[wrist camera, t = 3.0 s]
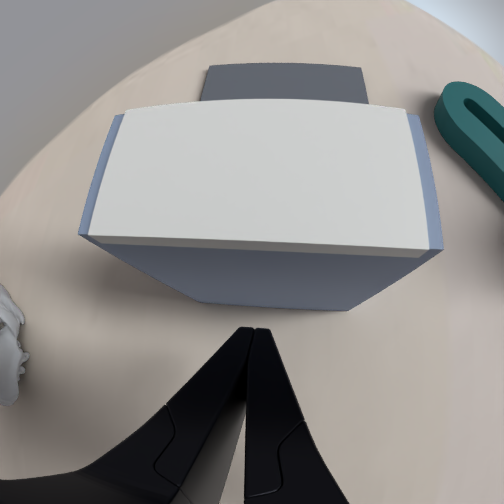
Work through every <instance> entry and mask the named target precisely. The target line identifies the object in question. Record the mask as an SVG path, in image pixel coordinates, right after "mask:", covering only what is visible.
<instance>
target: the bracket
mask: <svg viewBox="0 0 504 504" xmlns="http://www.w3.org/2000/svg"><path fill="white" fill-rule="evenodd" d="M434 119H435V123H436V125H437V128H438V130H439V132H440V133H441V135H442V137H443V138H444V139H445V141H446V142H447V143H448V144H449V145H450V147H451V148H452V149H453V150H455V151H456V152H457V153H458V154H459V155H460V156H461V157H462V158H463V159H464V160H465V161H466V162H467V163H468V164H469V165H470V166H471V167H472V168H473V169H474V170H475V171H476V172H477V173H478V174H479V175H480V176H481V177H482V178H483V180H484V181H485V182H486V183H487V184H488V185H489V186H490V187H491V188H492V189H493V190H494V192H495V193H496V194H497V195H498V196H499V197H500V198H501V200H502V201H503V202H504V107H503V106H502V105H501V104H500V103H499V102H497V101H496V100H495V99H494V98H493V97H492V96H491V95H489V94H488V93H487V92H485V91H484V90H482V89H480V88H479V87H477V86H474V85H472V84H469V83H466V82H451V83H449V84H447V85H446V86H445V88H444V90H443V92H442V94H441V96H440V98H439V100H438V102H437V104H436V106H435V109H434Z"/></svg>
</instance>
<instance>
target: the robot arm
mask: <svg viewBox="0 0 504 504" xmlns="http://www.w3.org/2000/svg"><path fill="white" fill-rule="evenodd" d="M245 414H246V431H245V477H244V504H349V502H348V501H347V499H346V497H345V496H344V494H343V492H342V491H341V489H340V488H339V486H338V484H337V483H336V481H335V479H334V478H333V476H332V474H331V473H330V471H329V469H328V468H327V466H326V464H325V462H324V461H323V459H322V457H321V455H320V453H319V451H318V449H317V447H316V445H315V443H314V440H313V438H312V436H311V434H310V431H309V429H308V426H307V423H306V422H305V419H304V416H303V414H302V411H301V408H300V406H299V403H298V401H297V398H296V396H295V393H294V390H293V388H292V385H291V383H290V380H289V377H288V375H287V372H286V370H285V367H284V364H283V362H282V359H281V357H280V354H279V351H278V349H277V346H276V343H275V341H274V338H273V336H272V333H271V331H270V329H266V328H256V329H254V328H252V327H239V328H238V329H237V330H236V331H235V332H234V334H233V335H232V336H231V337H230V338H229V339H228V340H227V341H226V342H225V343H224V344H223V345H222V346H221V347H220V348H219V349H218V351H217V352H216V353H215V354H214V355H213V356H212V357H211V358H210V359H209V360H208V361H207V362H206V363H205V364H204V365H203V366H202V367H201V368H200V369H199V370H198V371H197V372H196V373H195V374H194V375H193V377H192V378H191V379H190V380H189V381H188V382H187V383H186V384H185V385H184V386H183V387H182V388H181V389H180V390H179V391H178V392H177V393H176V394H175V395H174V396H173V397H172V398H171V399H170V400H169V401H168V402H167V403H166V405H164V406H163V407H162V408H161V409H160V410H159V411H158V412H157V413H156V414H155V415H154V416H152V417H151V418H150V419H149V420H148V421H147V422H146V423H145V424H144V425H143V426H141V427H140V428H139V429H138V430H136V431H135V432H134V433H133V434H131V435H130V436H129V437H128V438H126V439H125V440H124V441H122V442H121V443H120V444H118V445H117V446H115V447H114V448H113V449H111V450H110V451H109V452H107V453H106V454H104V455H103V456H102V457H100V458H99V459H97V460H96V461H94V462H93V463H91V464H90V465H88V466H86V467H84V468H82V469H79V470H77V471H73V472H69V473H64V474H57V475H51V476H43V477H36V478H27V479H16V480H1V479H0V504H219V502H220V498H221V495H222V492H223V489H224V485H225V482H226V479H227V476H228V472H229V469H230V466H231V462H232V459H233V455H234V452H235V449H236V445H237V442H238V438H239V435H240V431H241V428H242V424H243V421H244V417H245Z"/></svg>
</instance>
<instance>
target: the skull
mask: <svg viewBox="0 0 504 504" xmlns="http://www.w3.org/2000/svg"><path fill="white" fill-rule="evenodd" d="M1 322H3V323H4V327H3V328H1V329H0V405H3V406H10V405H12V404H14V402H15V401H16V399H17V398H18V395H19V387H18V381H19V380H20V378H19V375H20V374H23V373H24V372H25V368H24V367H23V366H22V365H21V364H22V363H23V362H26V361H27V360H28V358H29V352H24V353H23V352H22V351H23V350H22V349H21V348H20V347H21V344H20V343H19V341H17V337H18V334H19V326H20V323H21V324H22V325H23V324H24V323H25V319H24V315H23V313H22V312H21V310H20V309H19V308H18V307H17V306H16V305H15V304H14V302H13V301H12V300H11V297H10V295H9V293H8V292H7V290H6V289H5V288H4V287H3V286H2V285H1V284H0V323H1Z"/></svg>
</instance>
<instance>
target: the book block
mask: <svg viewBox="0 0 504 504" xmlns="http://www.w3.org/2000/svg"><path fill="white" fill-rule="evenodd" d="M78 235H80V236H82V237H83V238H85V239H87V240H88V241H90V242H92V243H93V244H95V245H97V246H98V247H100V248H102V249H103V250H105V251H107V252H109V253H110V254H112V255H114V256H115V257H117V258H119V259H121V260H122V261H124V262H126V263H128V264H129V265H131V266H133V267H135V268H137V269H138V270H140V271H142V272H144V273H146V274H147V275H149V276H151V277H153V278H155V279H156V280H158V281H160V282H162V283H164V284H166V285H168V286H169V287H171V288H173V289H175V290H177V291H179V292H181V293H183V294H185V295H186V296H188V297H190V298H192V299H194V300H196V301H198V302H202V303H214V304H227V305H240V306H255V307H271V308H289V309H310V310H336V311H349V310H350V309H352V308H354V307H356V306H357V305H359V304H361V303H362V302H364V301H366V300H367V299H369V298H371V297H372V296H374V295H376V294H377V293H379V292H380V291H382V290H384V289H385V288H387V287H388V286H390V285H392V284H393V283H395V282H396V281H398V280H399V279H401V278H402V277H404V276H406V275H407V274H409V273H410V272H412V271H413V270H415V269H416V268H418V267H419V266H421V265H422V264H424V263H425V262H427V261H428V260H429V259H431V258H432V257H434V256H435V255H437V254H438V253H440V252H441V251H442V250H444V247H443V238H442V229H441V221H440V214H439V207H438V201H437V194H436V189H435V183H434V178H433V173H432V168H431V163H430V158H429V154H428V150H427V145H426V141H425V137H424V133H423V129H422V126H421V122H420V118H419V116H418V115H412V114H406V110H405V109H400V108H393V107H386V106H378V105H369V104H360V103H350V102H338V101H324V100H303V99H233V100H213V101H198V102H186V103H176V104H166V105H158V106H150V107H143V108H136V109H129V110H126V112H125V114H121V115H115V117H114V120H113V122H112V125H111V127H110V130H109V133H108V135H107V138H106V141H105V143H104V146H103V149H102V152H101V155H100V158H99V161H98V164H97V167H96V170H95V173H94V176H93V180H92V183H91V186H90V190H89V193H88V197H87V200H86V204H85V207H84V211H83V215H82V219H81V223H80V227H79V231H78Z"/></svg>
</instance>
